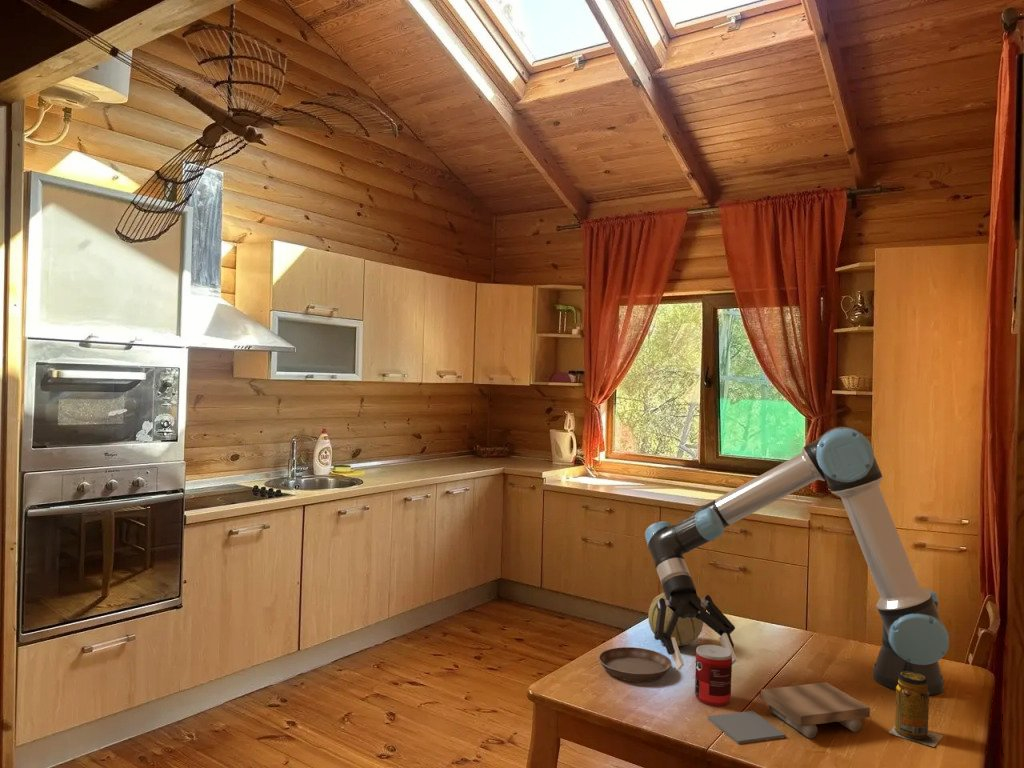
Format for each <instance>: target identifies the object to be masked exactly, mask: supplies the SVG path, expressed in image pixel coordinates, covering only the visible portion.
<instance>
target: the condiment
mask: <svg viewBox="0 0 1024 768" xmlns="http://www.w3.org/2000/svg"><path fill="white" fill-rule="evenodd" d="M927 682H928V681H927V678H926V677H924V676H923V675H921V674H918V673H914V672H901V673H900V674H899V680H898V683H899V684H898V685H897V687H896V690H895V709H894V710H895V711H894V713H895V714H894V715H895V716H894V726H893V727H892V728H891V729H890V730H889V731H888V732H887V733H888V734H891V735H892V736H893V735H894V736H895V737H899V738H902V739H904V740H905V739H906V740H908V741H914V742H916V743H919V744H921V745H926V746H929V747H933V748H935V747H936V746H937V745H938V744H939V742H940V741H941V739H942V738H943V737H944V734H940V733H936V732H934V731H930V730H929V710H930V709H929V705H930V695H929V692H928V691H927V688H928V687H927ZM939 740H940V741H939Z"/></svg>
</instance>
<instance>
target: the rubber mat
mask: <svg viewBox="0 0 1024 768" xmlns="http://www.w3.org/2000/svg"><path fill="white" fill-rule="evenodd" d="M707 720H708V721H710V722H711V723H712V724H713V725H715V726H716V727H717V728H718V729H720V730H721V731H722V732H723V733H724V734H725V735H726V736H728V737H729V738H730V739H731V740H733V742H735V743H736V744H737V745H741V744H747V743H755V741H757V742H762V740H764V741H768V740H767V739H771V740H778V739H785V738H786V734H785V733H784V732H782V731H781V730H780V729H778V728H777V727H775V726H774V725H773V724H771V723H770V722H769V721H768V720H766V719H765V718H763V717H762V716H760V715H759V714H758V713H756V712H755V711H754V710H749V711H741V712H734V713H733V712H731V713H724V714H716V715H715V714H713V715H708V716H707ZM776 738H778V739H776Z"/></svg>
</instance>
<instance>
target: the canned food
mask: <svg viewBox="0 0 1024 768" xmlns="http://www.w3.org/2000/svg"><path fill="white" fill-rule="evenodd" d="M695 650H696V651H695V679H694V680H695V681H694V694H695V697H696V699H697V700H698V701H699V702H701V703H702V704H704V703H705V705H707V704H708V706H712V705H713V706H712V707H724V706H727V705H729V704H730V702H731V700H732V676H733V675H732V672H733V670H732V668H733V664H732V652H731V651H730V650H728V649H726V648H724V647H722V645H716V644H702V645H699V646H697V647H696V649H695Z"/></svg>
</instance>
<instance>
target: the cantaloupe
mask: <svg viewBox="0 0 1024 768" xmlns="http://www.w3.org/2000/svg"><path fill="white" fill-rule="evenodd" d="M661 598H663V599H664V600H667V599H666V596H665V593H664V591H663V592H661V593H660V594H658V595H657V596H655V597H654V598H653V600H652V601H651V603H650V606H649V609H648V617H647V619H648V624H649V627H650V630H651V631H652V634H653V635H654V636H655V629H656V622H657V615H658V609H657V603H658V601H659V600H660V599H661ZM698 613H700V611H698ZM672 614H673V611H672V610H671V609H670V608H669V607H667V609H666V615H665V623H664V630H663V633H665V631H666V629H667V627H668V624H669V622H670V620H671V617H672ZM703 627H704V622H703V621H701V620H700V619H697V618H696V617H693V618H688V617H687V618H681V617H679V618H678V621H677V623H676V625H675V628H674V630H673V632H672V635H671V638H672V637H675V640H676V642H677V645H678V647H681V646H687V645H689V644H691V643H693V642H694V641H696V640H697V639H698V638H699V636H700V635H701V633H702V631H703ZM659 642H661V640H659Z"/></svg>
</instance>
